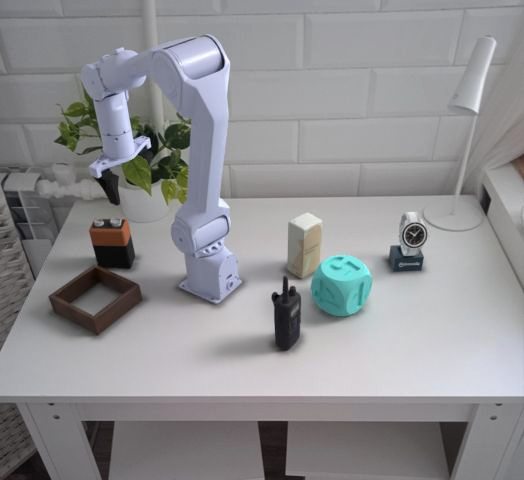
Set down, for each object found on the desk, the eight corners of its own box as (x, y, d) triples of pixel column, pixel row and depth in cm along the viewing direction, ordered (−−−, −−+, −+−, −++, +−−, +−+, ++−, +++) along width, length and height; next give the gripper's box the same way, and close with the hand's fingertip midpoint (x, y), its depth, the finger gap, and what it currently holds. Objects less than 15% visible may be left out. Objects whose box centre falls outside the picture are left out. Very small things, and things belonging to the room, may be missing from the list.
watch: (395, 278, 119) (402, 229, 111) (387, 253, 125) (393, 205, 117) (424, 276, 119) (433, 227, 111) (414, 251, 125) (423, 203, 117)
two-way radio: (287, 354, 105) (287, 284, 94) (265, 345, 107) (263, 275, 96) (303, 335, 108) (305, 265, 98) (281, 326, 110) (281, 257, 100)
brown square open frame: (142, 300, 116) (139, 284, 114) (98, 335, 110) (93, 319, 107) (98, 279, 121) (94, 263, 118) (53, 312, 114) (47, 296, 112)
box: (301, 279, 119) (302, 230, 112) (286, 269, 122) (286, 221, 114) (320, 268, 122) (323, 219, 114) (305, 258, 124) (307, 210, 116)
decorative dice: (344, 323, 110) (347, 287, 105) (309, 304, 114) (310, 269, 109) (370, 301, 114) (375, 265, 109) (335, 283, 118) (338, 248, 113)
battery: (131, 270, 123) (122, 227, 116) (97, 269, 124) (86, 226, 117) (136, 256, 126) (127, 214, 119) (103, 256, 127) (92, 213, 120)
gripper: (127, 109, 120) (138, 174, 129) (70, 139, 111) (87, 205, 121) (154, 118, 117) (164, 183, 126) (98, 149, 109) (113, 216, 118)
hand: (128, 194), depth 124 cm, fingers open, 7 cm apart
